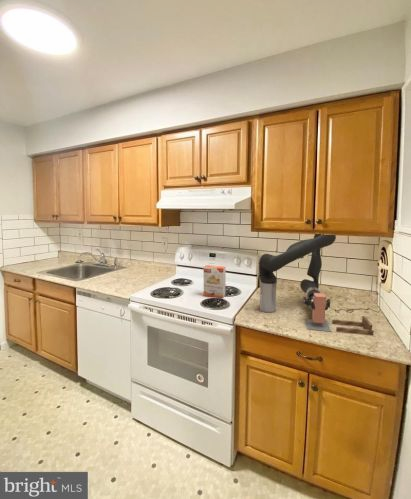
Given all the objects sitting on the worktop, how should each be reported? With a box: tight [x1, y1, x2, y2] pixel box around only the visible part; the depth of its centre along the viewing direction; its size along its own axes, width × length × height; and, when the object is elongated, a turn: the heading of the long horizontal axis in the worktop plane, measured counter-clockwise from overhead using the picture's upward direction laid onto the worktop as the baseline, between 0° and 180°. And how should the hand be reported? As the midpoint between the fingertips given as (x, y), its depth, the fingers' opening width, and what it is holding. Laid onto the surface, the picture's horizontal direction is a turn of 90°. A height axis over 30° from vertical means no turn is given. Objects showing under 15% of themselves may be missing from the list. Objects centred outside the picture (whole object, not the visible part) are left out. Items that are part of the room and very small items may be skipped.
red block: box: [311, 292, 327, 323], centre depth 130 cm, size 5×5×14 cm
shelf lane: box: [331, 316, 375, 336], centre depth 128 cm, size 16×9×5 cm, turn 77°
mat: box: [304, 318, 333, 333], centre depth 132 cm, size 11×11×1 cm
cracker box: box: [203, 264, 227, 299], centre depth 172 cm, size 14×6×21 cm, turn 69°
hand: (320, 308), depth 127 cm, fingers closed on red block, 5 cm apart
